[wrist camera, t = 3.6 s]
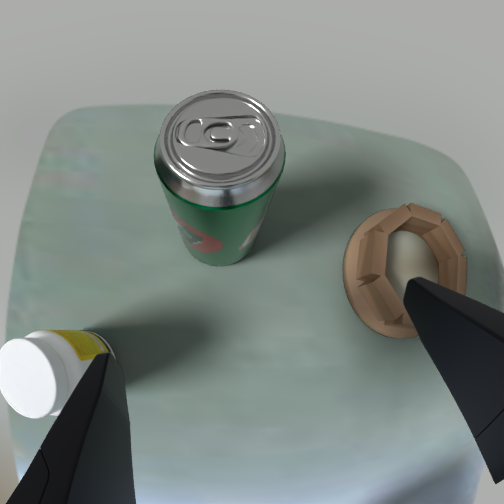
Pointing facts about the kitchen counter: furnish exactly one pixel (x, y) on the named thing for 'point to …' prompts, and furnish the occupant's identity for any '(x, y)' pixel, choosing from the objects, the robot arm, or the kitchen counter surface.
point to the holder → (399, 264)
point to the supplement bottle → (46, 368)
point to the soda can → (219, 171)
